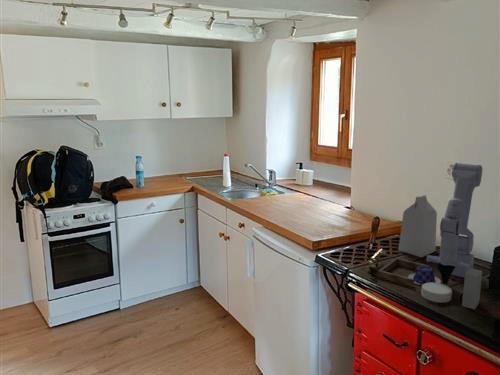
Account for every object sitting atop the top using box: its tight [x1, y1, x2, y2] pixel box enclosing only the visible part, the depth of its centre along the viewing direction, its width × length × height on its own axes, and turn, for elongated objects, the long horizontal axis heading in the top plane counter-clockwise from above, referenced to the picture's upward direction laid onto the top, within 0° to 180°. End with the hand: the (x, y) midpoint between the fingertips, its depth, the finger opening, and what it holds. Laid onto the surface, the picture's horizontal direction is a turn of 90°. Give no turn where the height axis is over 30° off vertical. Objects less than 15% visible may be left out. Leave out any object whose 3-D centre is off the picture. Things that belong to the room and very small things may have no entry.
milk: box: [397, 194, 438, 258], centre depth 196 cm, size 12×12×26 cm
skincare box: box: [461, 268, 483, 310], centre depth 146 cm, size 6×4×12 cm
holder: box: [377, 257, 431, 288], centre depth 172 cm, size 14×18×3 cm
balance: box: [366, 248, 387, 271], centre depth 180 cm, size 13×4×7 cm, turn 139°
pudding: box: [407, 266, 442, 286], centre depth 166 cm, size 12×12×5 cm
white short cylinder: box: [420, 282, 453, 304], centre depth 153 cm, size 10×10×4 cm
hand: (445, 283), depth 162 cm, fingers closed
